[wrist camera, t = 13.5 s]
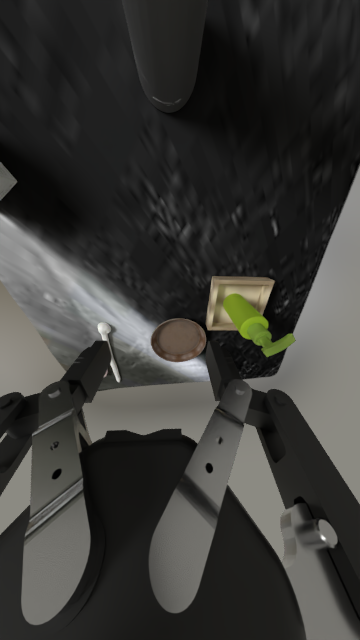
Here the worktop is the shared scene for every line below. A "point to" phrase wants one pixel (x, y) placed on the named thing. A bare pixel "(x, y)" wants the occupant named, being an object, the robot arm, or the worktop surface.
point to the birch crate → (247, 287)
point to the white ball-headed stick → (104, 330)
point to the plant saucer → (178, 340)
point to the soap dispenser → (253, 324)
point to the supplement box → (5, 181)
